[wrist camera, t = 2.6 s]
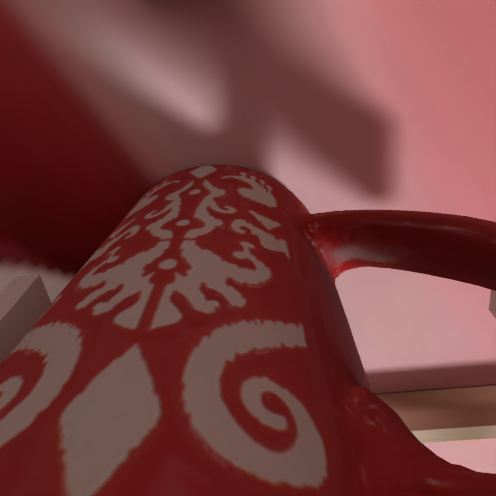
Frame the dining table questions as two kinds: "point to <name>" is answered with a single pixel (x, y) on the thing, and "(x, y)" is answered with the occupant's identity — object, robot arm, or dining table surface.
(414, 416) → the channel
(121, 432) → the mug
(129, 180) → the dining table surface
